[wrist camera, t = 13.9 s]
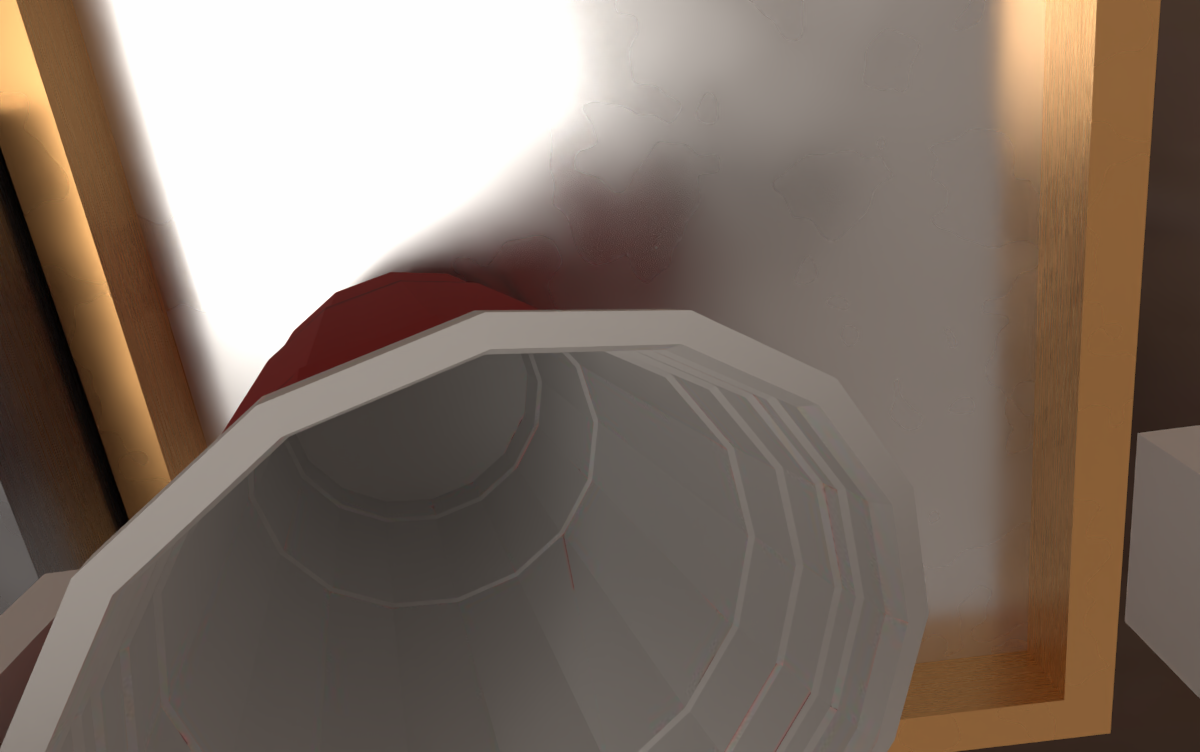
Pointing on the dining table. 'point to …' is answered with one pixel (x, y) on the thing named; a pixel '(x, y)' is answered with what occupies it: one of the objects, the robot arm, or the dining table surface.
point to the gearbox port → (614, 252)
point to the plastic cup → (502, 550)
